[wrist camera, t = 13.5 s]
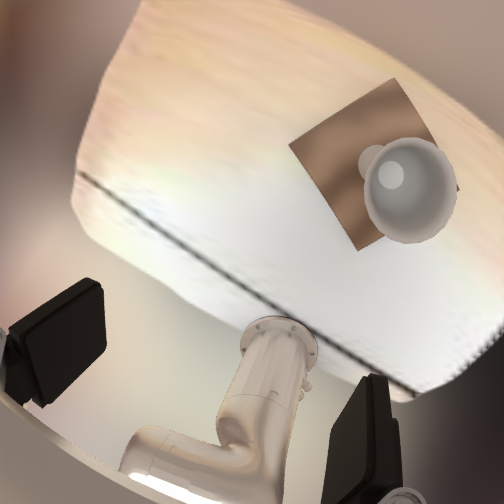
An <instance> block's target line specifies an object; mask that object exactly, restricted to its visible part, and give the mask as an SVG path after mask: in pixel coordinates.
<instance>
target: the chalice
mask: <svg viewBox="0 0 504 504" xmlns="http://www.w3.org/2000/svg"><path fill="white" fill-rule="evenodd" d="M358 167H359V172H360V174H361V176H362V177H363V179H364V180H365V183H364V197H365V205H366V208H367V211H368V214H369V217H370V219H371V220H372V221H373V223H374V224H375V226H376V227H377V228H378V230H379V231H380V232H382V233H383V234H384V235H386V236H387V237H388V238H390V239H391V240H394V241H398V242H401V243H404V244H409V243H420V242H423V241H425V240H427V239H430V238H432V237H434V236H435V235H436V234H437V233H438V232H439V231H440V230H441V229H443V228H444V227H445V225H446V223H447V222H448V220H449V218H450V217H451V215H452V213H453V210H454V206H455V203H456V199H457V182H456V178H455V174H454V170H453V167H452V165H451V163H450V162H449V160H448V159H447V157H446V155H445V154H444V153H443V152H442V151H441V150H440V149H439V148H438V147H436V146H435V145H434V144H433V143H431V142H428V141H426V140H423V139H420V138H417V137H414V138H400V139H398V140H395V141H393V142H391V143H388V144H387V145H386V146H382V145H372V146H370V147H368V148H366V149H365V150H364V151H363V152H362V154H361V155H360V157H359V162H358Z"/></svg>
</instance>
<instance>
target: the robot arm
mask: <svg viewBox="0 0 504 504" xmlns="http://www.w3.org/2000/svg"><path fill="white" fill-rule="evenodd" d="M8 329H9V334H8V335H7V336H6V333H5V331H4V330H3V329H2V328H0V504H282V502H283V495H284V477H285V464H286V457H287V451H288V446H289V441H290V436H291V432H292V427H293V423H294V419H295V414H296V410H297V405H298V401H300V400H302V399H303V398H304V394H303V393H302V391H301V387H302V388H303V389H304V390H305V391H306V392H308V391H310V390H311V389H312V386H311V385H310V383H309V382H308V381H307V380H306V376H307V372H308V371H309V370H310V369H311V368H312V367H313V366H314V364H315V362H316V358H317V350H318V348H317V343H316V341H315V338H314V336H313V335H312V334H311V332H310V331H309V330H308V329H307V328H306V327H305V326H303V325H302V324H300V323H299V322H296V321H294V320H292V319H289V318H285V317H278V316H273V317H265V318H261V319H259V320H256V321H254V322H253V323H252V324H250V325H249V326H248V327H247V328H246V330H245V331H244V333H243V335H242V338H241V343H240V350H241V353H242V356H243V359H242V361H241V363H240V366H239V368H238V370H237V372H236V375H235V377H234V379H233V381H232V383H231V385H230V387H229V390H228V392H227V394H226V396H225V398H224V400H223V403H222V405H221V407H220V409H219V412H218V414H217V417H216V431H217V435H218V438H219V441H220V443H221V446H222V447H221V446H217V445H213V444H209V443H206V442H203V441H199V440H197V439H194V438H191V437H188V436H185V435H182V434H180V433H176V432H174V431H171V430H168V429H165V428H162V427H158V426H147V427H143V428H141V429H139V430H138V431H137V432H136V433H135V434H134V435H133V436H132V438H131V439H130V441H129V443H128V445H127V447H126V449H125V451H124V454H123V457H122V460H121V463H120V467H119V470H118V471H117V470H115V469H113V468H111V467H110V466H108V465H106V464H104V463H103V462H101V461H99V460H97V459H96V458H94V457H93V456H91V455H89V454H88V453H86V452H84V451H83V450H81V449H80V448H78V447H77V446H75V445H74V444H72V443H71V442H69V441H68V440H66V439H65V438H63V437H62V436H60V435H59V434H57V433H56V432H54V431H53V430H52V429H50V428H49V427H48V426H46V425H45V424H43V423H42V422H41V421H40V420H38V419H37V418H36V417H34V416H33V415H32V414H31V413H29V412H28V401H29V400H30V399H31V398H32V401H33V402H35V403H36V404H37V405H38V406H40V407H41V408H44V407H45V406H46V405H47V404H51V403H52V402H54V401H55V399H57V397H59V396H60V394H62V393H63V392H64V391H65V390H66V389H67V388H68V387H69V386H70V385H71V384H72V383H73V382H74V381H75V380H76V379H77V378H78V377H79V376H80V375H81V374H82V373H83V372H84V371H85V370H86V369H87V368H88V367H89V366H90V365H91V364H92V363H93V362H94V361H95V360H96V359H97V358H98V357H99V356H100V355H101V354H102V353H103V352H104V351H105V349H106V346H107V341H106V327H105V311H104V290H103V288H101V284H100V283H99V282H97V281H95V280H92V279H90V278H84V279H82V280H80V281H79V282H77V283H75V284H74V285H72V286H71V287H69V288H68V289H66V290H64V291H63V292H61V293H60V294H58V295H57V296H55V297H54V298H52V299H51V300H49V301H47V302H46V303H44V304H43V305H41V306H40V307H38V308H37V309H35V310H34V311H32V312H31V313H29V314H28V315H26V316H25V317H23V318H22V319H21V320H19V321H18V322H16V323H15V324H13V325H12V326H10V327H9V328H8ZM399 436H400V435H399V425H398V421H397V419H396V418H392V413H391V403H390V394H389V385H388V379H387V377H386V376H381V375H377V374H373V373H370V374H369V375H368V377H366V376H363V377H362V378H361V380H360V382H359V384H358V385H357V387H356V389H355V391H354V392H353V394H352V396H351V397H350V399H349V401H348V402H347V404H346V406H345V408H344V409H343V411H342V412H341V414H340V415H339V417H338V419H337V420H336V422H335V423H334V425H333V427H332V429H331V433H330V440H329V449H328V457H327V465H326V472H325V479H324V486H323V492H322V498H321V504H426V502H425V500H424V498H423V497H422V496H421V494H420V493H419V492H417V491H415V490H414V489H411V488H407V487H403V478H402V461H401V446H400V437H399Z"/></svg>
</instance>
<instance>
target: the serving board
mask: <svg viewBox="0 0 504 504" xmlns="http://www.w3.org/2000/svg"><path fill="white" fill-rule="evenodd" d="M414 137H417V138H420V139H423V140H426V141H428V142H431V143H433V144H434V145H435V146H436V147H438V146H437V144H436V142H435V141H434V139H433V137H432V135H431V134H430V132H429V130H428V128H427V127H426V125H425V123H424V122H423V120H422V118H421V117H420V115H419V114H418V112H417V110H416V109H415V107H414V106H413V104H412V103H411V101H410V100H409V98H408V97H407V95H406V94H405V92H404V91H403V89H402V88H401V86H400V85H399V83H398V82H397V80H396V79H395V78H393V79H391V80H389V81H388V82H386V83H384V84H383V85H381V86H379V87H377V88H376V89H374V90H373V91H371V92H369V93H368V94H366V95H364V96H363V97H361V98H359V99H358V100H356V101H355V102H353V103H351V104H350V105H348V106H347V107H345V108H343V109H342V110H340V111H339V112H337V113H336V114H334V115H332V116H331V117H329V118H328V119H326V120H325V121H323V122H322V123H320V124H319V125H317V126H316V127H314V128H313V129H311V130H310V131H308V132H307V133H305V134H304V135H302V136H301V137H299V138H298V139H296V140H295V141H293V142H292V143H290V144H289V147H290V148H291V150H292V151H293V152H294V154H295V155H296V157H297V158H298V160H299V161H300V162H301V164H302V165H303V167H304V168H305V170H306V171H307V173H308V174H309V176H310V177H311V179H312V180H313V181H314V183H315V184H316V186H317V187H318V189H319V190H320V192H321V194H322V195H323V197H324V198H325V200H326V201H327V203H328V204H329V206H330V207H331V209H332V210H333V212H334V214H335V215H336V217H337V218H338V220H339V221H340V223H341V225H342V226H343V228H344V229H345V231H346V233H347V234H348V236H349V238H350V239H351V241H352V243H353V244H354V246H355V248H356V249H357V251H359V250H361V249H363V248H364V247H366V246H368V245H370V244H371V243H373V242H375V241H377V240H378V239H380V238H382V237H383V236H385V235H384V234H383V233H382V232H380V231H379V230H378V228H377V227H376V226H375V224H374V223H373V221H372V220H371V219H370V217H369V214H368V211H367V208H366V205H365V197H364V183H365V180H364V179H363V177H362V176H361V174H360V172H359V167H358V162H359V157H360V155H361V154H362V152H363V151H364V150H365V149H366V148H368V147H370V146H372V145H382V146H386V145H387V144H388V143H391V142H393V141H395V140H398V139H400V138H414ZM457 191H459V187H458V185H457Z"/></svg>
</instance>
